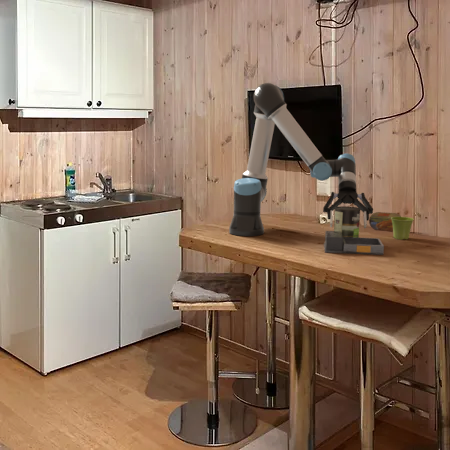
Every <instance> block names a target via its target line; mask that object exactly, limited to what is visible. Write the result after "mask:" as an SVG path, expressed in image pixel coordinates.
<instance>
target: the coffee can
mask: <svg viewBox="0 0 450 450" xmlns="http://www.w3.org/2000/svg"><path fill="white" fill-rule="evenodd" d="M360 217H361V209H360V208H358V207H357V206H356V207H355V206H345V205H344V206H342V205H340V206H338V207H335V209H334V222H333V224H334V225H333V231H341V233H342V236H343V237H359V238H360V235H359V234H360V219H361V218H360Z"/></svg>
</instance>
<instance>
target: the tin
mask: <svg viewBox="0 0 450 450" xmlns="http://www.w3.org/2000/svg"><path fill="white" fill-rule="evenodd" d="M391 217H402V216H401V215H400V214H399V213H396V212H385V211H384V212H381V211H377V212H374V213H372V214H370V215H369V220H368V223H369V225H370V227H371V229H374V230H375V231H384V232H385V231H386V232H393V223H392V219H391Z"/></svg>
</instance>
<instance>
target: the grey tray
mask: <svg viewBox="0 0 450 450" xmlns="http://www.w3.org/2000/svg"><path fill="white" fill-rule="evenodd" d="M324 239H325V240H324V242H323V249H324V253H330V254H331V253H332V254H351V255H373V256H374V255H376V256H384V254H385V253H384V249H385V245H384V244H383V242H382V241H381V239H380V238H379V237H378V238H377V237H374V238H373V237H360V236H359V237H343V236H342V233H341V231H334V230H325V237H324Z"/></svg>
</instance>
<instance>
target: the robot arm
mask: <svg viewBox="0 0 450 450" xmlns="http://www.w3.org/2000/svg"><path fill="white" fill-rule="evenodd" d="M253 102H254V104H255V105H254V110H253V114H254V116H255V118H256V119H255V122H254V123H255V124H254V129H253V133H252V134H253V135H252V139H251V145H250V150H249V155H248V161H247V165H246V166H247V167H246V170H245V171H244V172H243V173H242V175H241V178H239V179H236V180H235V181H234V185H233V216H232V219H231V222H230V224H229V230H228V233H229V234H231V235H233V236H234V235H235V236H239V237H241V236H242V237H243V236H244V237H255V236H261V235H264V234H265V229H264V224H263V221H262V216H261V208H262V207H261V204H262V202H263V201H264V200H265V198H266V196H267V189H268V188H267V184H268V180H269V178H268V176H267V174H266V172H267V168H268V161H269V156H270V152H271V145H272V140H273V134H274V130H275V126H276V127H277V129H279V131H280V132H281V133H282V135H283V136H284V137H285V139H286V140H287V141H288V142H289V144H290V145H291V147H293V149H294V150H295V151H296V153H297V154H298V155H299V157H300V158H301V159H302V161H303V162H304V164H306V166H307V167H308V169H309V170H310V177H311V178H312V179H313V178H314V179H316V180H317V181H321V182H323V181H326V180H328V179H329V178H336V177H338V179H337V180H338V183H337V184H338V185H337V187H338V191H337V193H335V192H334V191H331V192H330V197H329V198H328V200H327V201H326V202H325V204H324V206H323V208H322V213H326V214H327V217H326V218H327V220H329V224H330V225H329V228H333V224H334V222H333V211H335V207H340V206H341V205H342V204H347V205H352V204H353V205H354V206H356V207H357V208H360V209H361V210H360V212H362V213H363V228H364V229H366V228H367V226H368V222H369V218H370V215H372V214H373V212H374V208H373V206H372V204H371V203H370V202H369V201H368V199H367V198H366V195H365V192H361V193H358V192H357V172H356V171H357V170H356V169H357V164H356V158H355V157H354V155H353V154H352V153H351V154H350V153H343V154H340V155H339V156H338V158H337V159H326V157H324V156H323V154H322V153H321V152H320V151H319V150H318V148H317V147H316V146H315V144H314V143H313V142H312V140H311V138H309V136H308V135H307V133H306V132H305V131H304V130H303V128H302V127H301V126H300V124H299V123H298V122H297V121H296V119H295V118H294V116H293V115H292V114H291V112H290V111H289V110H288V109H287V105H288V104H287V103H286V102H285V95H284V92H283V90H282V89H281V88H280V87H279V86H277V85H276V84H274V83H270V82H264V83H261V84H260V85H258V86H257V87H256V88H255V91H254V93H253ZM336 198H337V199H336ZM334 199H336V201H334ZM333 201H334V202H333Z"/></svg>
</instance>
